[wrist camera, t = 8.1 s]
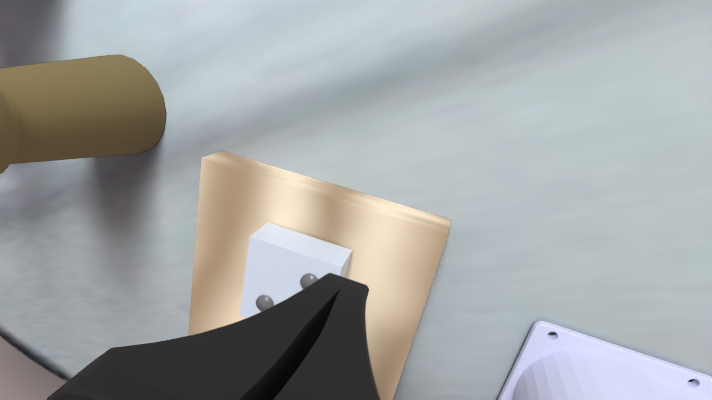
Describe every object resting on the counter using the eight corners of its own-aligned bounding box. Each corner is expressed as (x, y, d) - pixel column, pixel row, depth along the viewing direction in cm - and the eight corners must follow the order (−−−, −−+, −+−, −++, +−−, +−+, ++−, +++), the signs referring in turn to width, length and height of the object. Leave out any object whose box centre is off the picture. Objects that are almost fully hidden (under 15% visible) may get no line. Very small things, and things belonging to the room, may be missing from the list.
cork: (120, 168, 26) (-99, 230, 16) (68, 84, 25) (-202, 93, 15) (183, 128, 24) (-25, 170, 14) (128, 34, 23) (-139, 4, 13)
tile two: (352, 250, 21) (340, 268, 19) (334, 324, 23) (322, 348, 21) (268, 222, 22) (248, 237, 20) (256, 296, 23) (237, 316, 22)
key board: (450, 219, 21) (449, 233, 19) (345, 530, 31) (338, 559, 29) (222, 150, 23) (201, 157, 22) (193, 461, 34) (177, 483, 32)
